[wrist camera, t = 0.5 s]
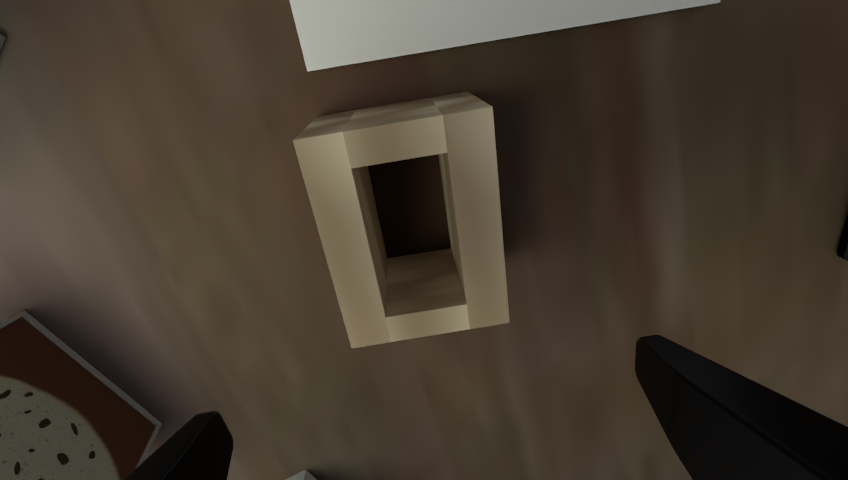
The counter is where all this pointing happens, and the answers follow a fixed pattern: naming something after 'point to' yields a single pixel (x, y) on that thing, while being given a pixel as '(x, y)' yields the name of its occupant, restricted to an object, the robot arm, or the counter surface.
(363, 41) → the post stand
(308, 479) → the tea bag
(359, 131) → the beige open box
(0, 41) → the skyscraper
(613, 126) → the counter surface
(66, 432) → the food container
